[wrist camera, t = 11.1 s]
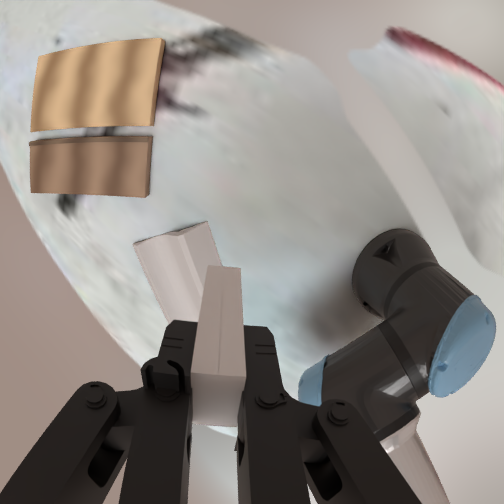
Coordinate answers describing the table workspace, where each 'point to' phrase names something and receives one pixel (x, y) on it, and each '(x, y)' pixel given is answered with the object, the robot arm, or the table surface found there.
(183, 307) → the crown molding
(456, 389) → the robot arm
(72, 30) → the table surface
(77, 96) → the oak plank
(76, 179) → the walnut floor board
